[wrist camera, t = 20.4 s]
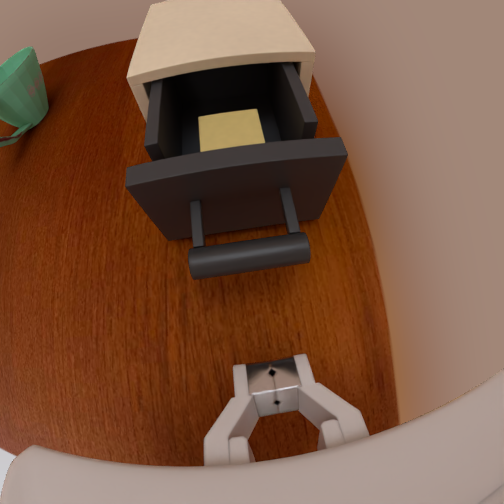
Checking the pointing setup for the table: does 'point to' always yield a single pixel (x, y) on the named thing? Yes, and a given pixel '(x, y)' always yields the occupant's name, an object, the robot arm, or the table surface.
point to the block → (230, 130)
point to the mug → (22, 93)
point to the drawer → (235, 167)
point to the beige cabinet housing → (215, 41)
